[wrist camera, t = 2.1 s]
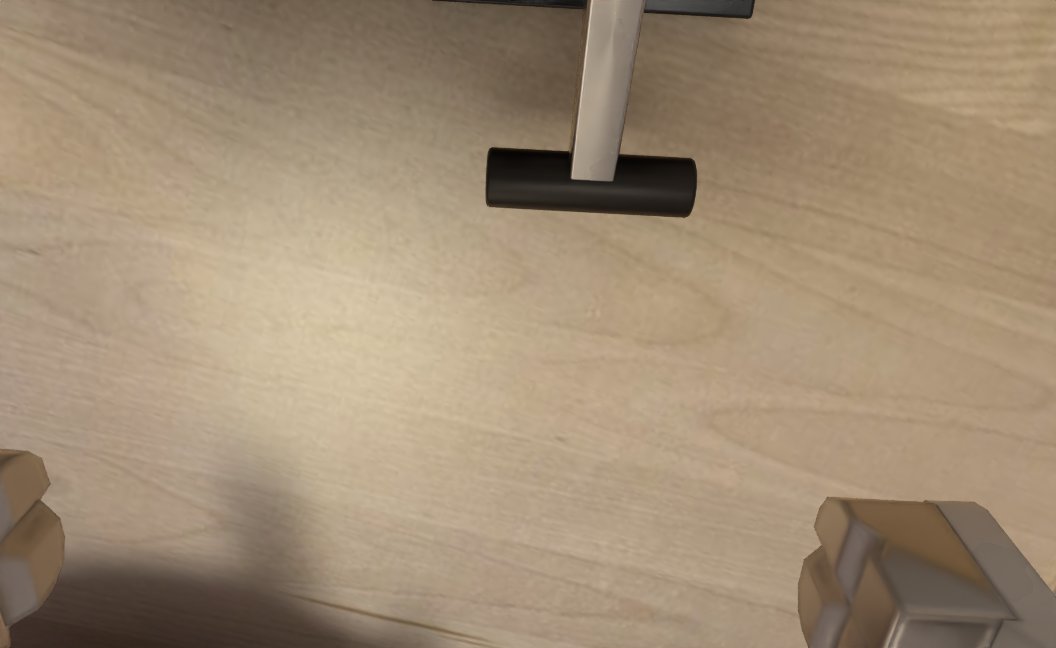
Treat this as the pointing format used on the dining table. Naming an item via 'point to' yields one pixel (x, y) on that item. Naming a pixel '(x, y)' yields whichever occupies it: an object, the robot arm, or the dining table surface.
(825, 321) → the dining table surface
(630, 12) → the switch lever
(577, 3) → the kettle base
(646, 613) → the dining table surface
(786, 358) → the dining table surface
